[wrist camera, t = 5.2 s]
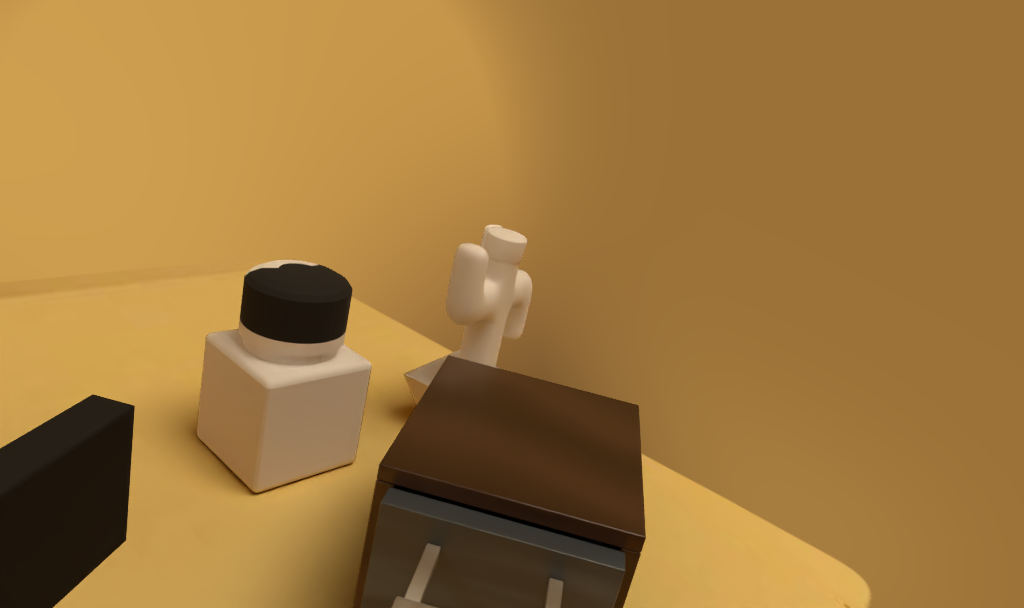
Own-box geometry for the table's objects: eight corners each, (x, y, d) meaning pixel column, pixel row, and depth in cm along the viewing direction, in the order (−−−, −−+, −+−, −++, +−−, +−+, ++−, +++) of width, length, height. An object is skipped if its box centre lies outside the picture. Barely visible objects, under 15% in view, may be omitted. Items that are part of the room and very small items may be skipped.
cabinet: (586, 719, 32) (646, 537, 29) (344, 647, 33) (379, 463, 30) (595, 546, 44) (639, 404, 41) (418, 496, 45) (448, 354, 42)
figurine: (533, 423, 57) (581, 239, 53) (469, 467, 49) (518, 255, 45) (457, 387, 60) (496, 210, 56) (385, 424, 52) (423, 220, 47)
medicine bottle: (357, 463, 47) (388, 287, 43) (254, 496, 41) (279, 299, 38) (295, 412, 51) (318, 247, 47) (194, 436, 46) (211, 253, 42)
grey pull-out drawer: (567, 839, 26) (626, 669, 24) (303, 757, 27) (333, 584, 24) (588, 554, 42) (624, 435, 39) (420, 507, 42) (446, 387, 40)
